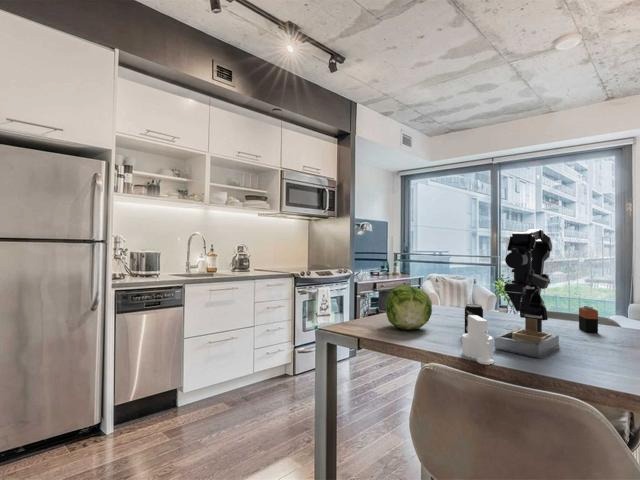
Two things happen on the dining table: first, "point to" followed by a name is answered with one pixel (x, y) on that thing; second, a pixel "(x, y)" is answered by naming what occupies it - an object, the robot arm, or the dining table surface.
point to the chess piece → (485, 350)
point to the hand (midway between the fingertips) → (522, 309)
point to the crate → (530, 333)
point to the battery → (588, 319)
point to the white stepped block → (475, 338)
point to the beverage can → (472, 313)
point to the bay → (526, 345)
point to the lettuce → (408, 307)
